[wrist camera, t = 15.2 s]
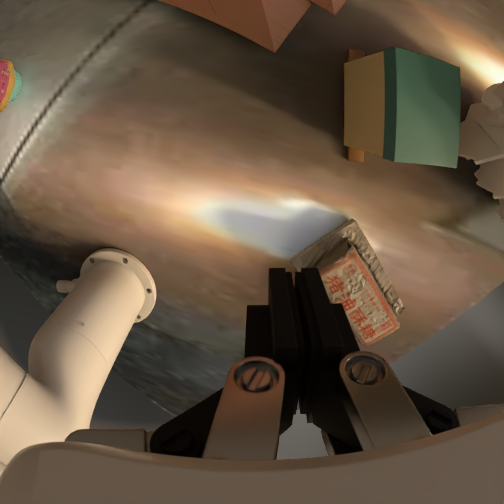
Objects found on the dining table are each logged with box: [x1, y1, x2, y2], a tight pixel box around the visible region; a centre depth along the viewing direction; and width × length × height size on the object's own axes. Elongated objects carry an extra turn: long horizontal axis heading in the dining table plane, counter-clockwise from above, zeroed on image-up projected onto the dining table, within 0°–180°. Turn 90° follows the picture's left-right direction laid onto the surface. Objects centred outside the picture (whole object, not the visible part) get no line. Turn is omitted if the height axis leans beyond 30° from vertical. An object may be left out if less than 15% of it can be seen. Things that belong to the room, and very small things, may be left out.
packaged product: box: [291, 219, 405, 346], centre depth 39 cm, size 18×5×10 cm
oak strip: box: [347, 48, 365, 162], centre depth 31 cm, size 2×14×1 cm, turn 1°
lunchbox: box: [344, 47, 461, 168], centre depth 26 cm, size 11×10×8 cm
